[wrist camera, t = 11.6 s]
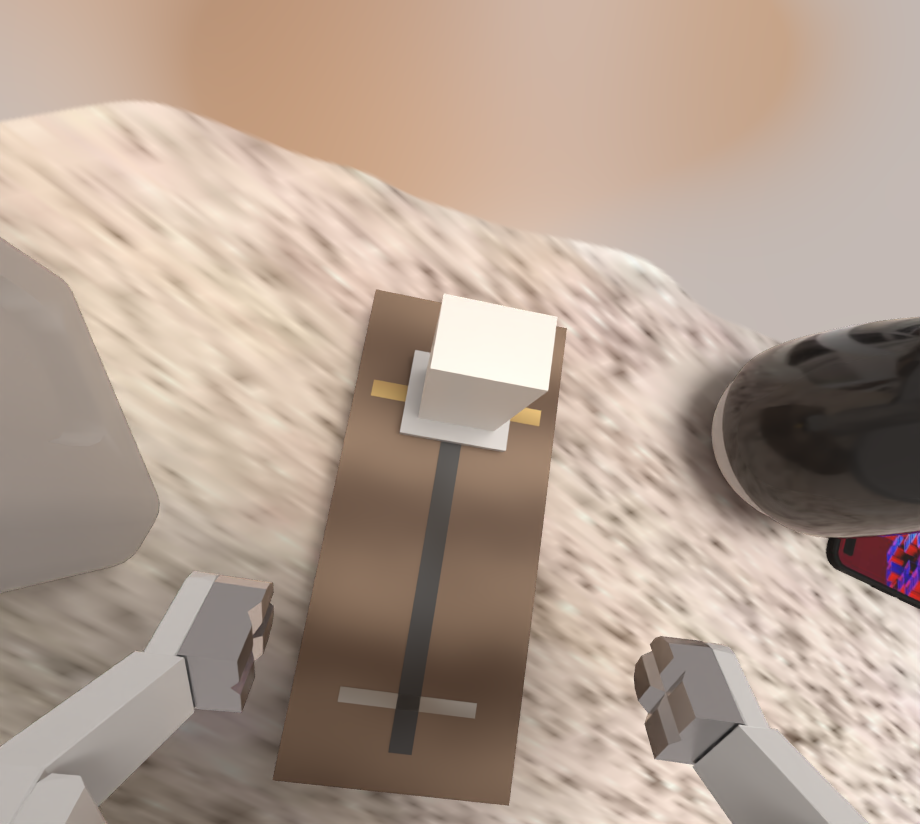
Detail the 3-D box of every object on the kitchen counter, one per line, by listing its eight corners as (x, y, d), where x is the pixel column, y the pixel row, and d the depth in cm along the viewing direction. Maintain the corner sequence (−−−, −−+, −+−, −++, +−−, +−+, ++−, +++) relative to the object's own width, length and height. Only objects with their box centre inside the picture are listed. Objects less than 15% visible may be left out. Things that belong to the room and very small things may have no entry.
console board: (494, 768, 24) (508, 805, 21) (288, 744, 23) (272, 780, 20) (549, 346, 28) (567, 328, 25) (378, 312, 27) (375, 289, 24)
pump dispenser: (659, 497, 28) (967, 489, 13) (706, 337, 30) (1014, 171, 15) (819, 563, 28) (1295, 630, 13) (853, 401, 30) (1291, 302, 15)
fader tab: (503, 452, 23) (567, 420, 15) (399, 433, 23) (401, 389, 14) (514, 372, 24) (581, 298, 15) (414, 353, 24) (425, 265, 15)
